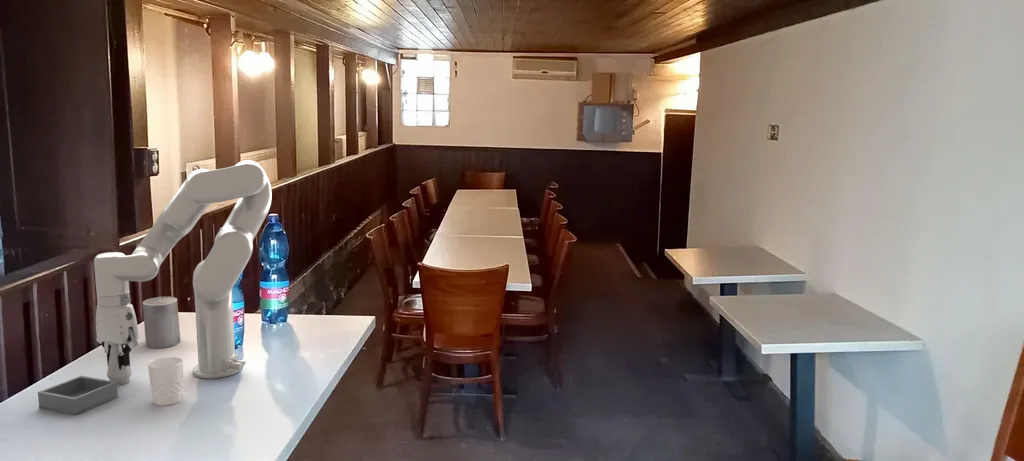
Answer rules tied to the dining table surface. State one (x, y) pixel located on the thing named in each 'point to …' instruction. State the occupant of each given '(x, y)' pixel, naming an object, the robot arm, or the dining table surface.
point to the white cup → (166, 380)
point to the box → (78, 395)
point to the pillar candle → (161, 322)
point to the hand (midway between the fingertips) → (119, 366)
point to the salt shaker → (117, 367)
